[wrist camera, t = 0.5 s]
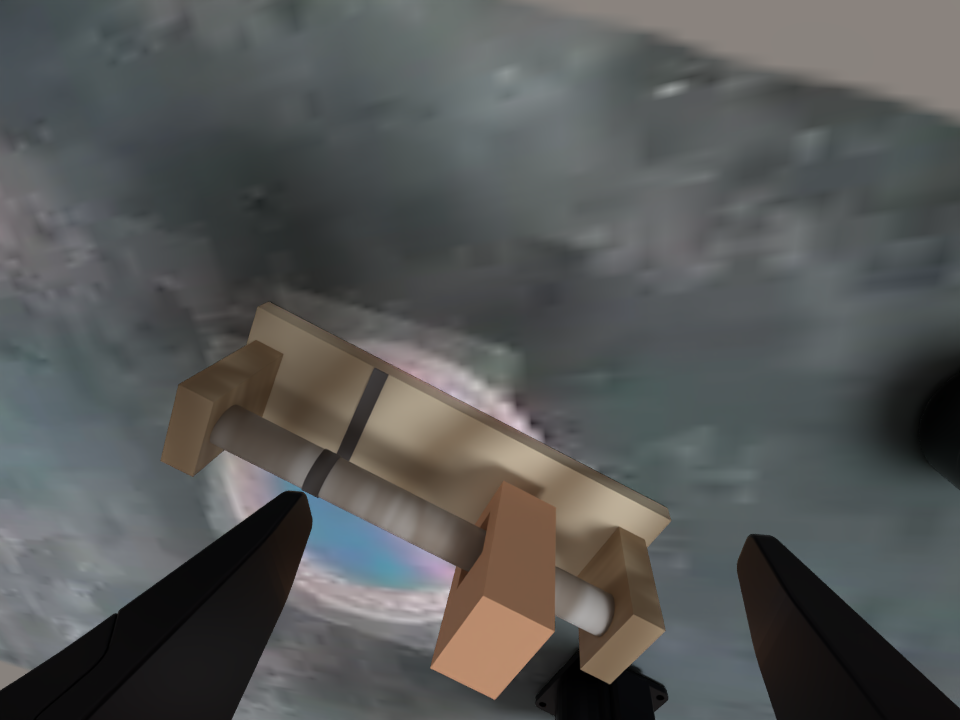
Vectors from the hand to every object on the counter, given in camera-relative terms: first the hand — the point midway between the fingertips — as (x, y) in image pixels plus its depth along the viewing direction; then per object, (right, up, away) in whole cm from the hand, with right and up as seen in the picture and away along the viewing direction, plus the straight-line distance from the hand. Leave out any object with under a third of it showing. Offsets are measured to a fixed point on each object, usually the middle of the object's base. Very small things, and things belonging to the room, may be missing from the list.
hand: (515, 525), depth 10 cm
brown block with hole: (+1, -5, +15) cm, 16 cm away
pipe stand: (-3, -2, +17) cm, 18 cm away
